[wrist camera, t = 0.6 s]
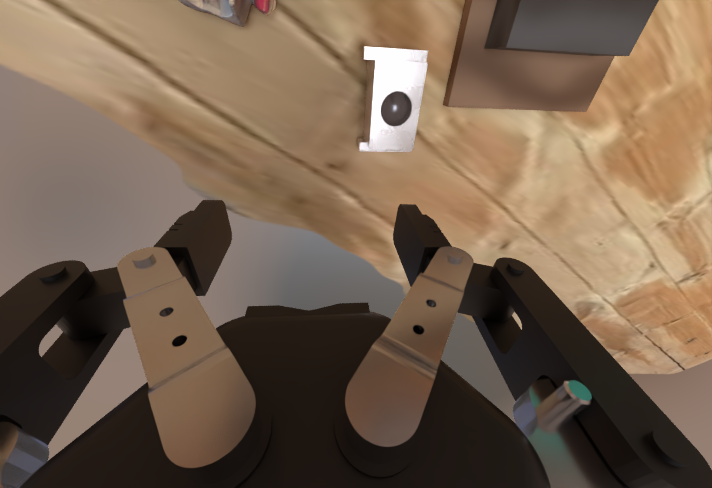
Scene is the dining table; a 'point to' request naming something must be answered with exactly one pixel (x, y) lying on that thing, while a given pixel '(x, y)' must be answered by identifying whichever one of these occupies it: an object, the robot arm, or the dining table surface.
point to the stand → (540, 51)
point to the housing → (392, 98)
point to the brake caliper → (231, 8)
